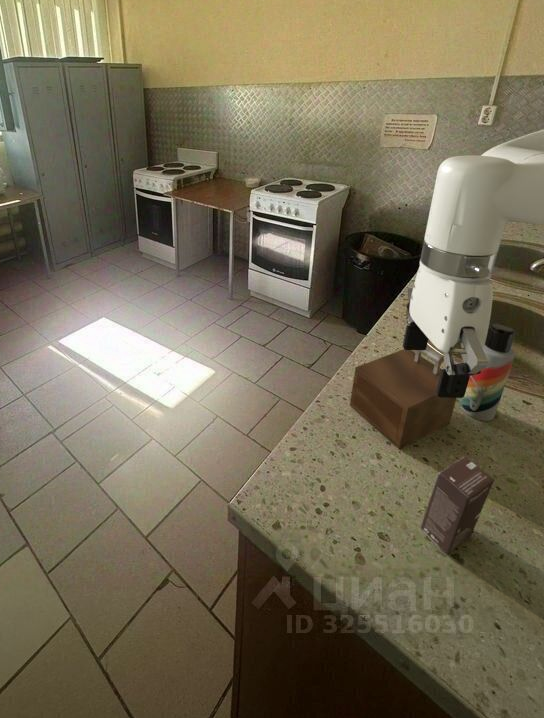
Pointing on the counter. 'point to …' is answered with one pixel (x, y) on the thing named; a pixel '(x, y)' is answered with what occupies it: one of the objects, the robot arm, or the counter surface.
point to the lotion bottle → (490, 374)
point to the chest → (398, 413)
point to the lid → (405, 376)
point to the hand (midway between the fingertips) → (430, 370)
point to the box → (456, 504)
